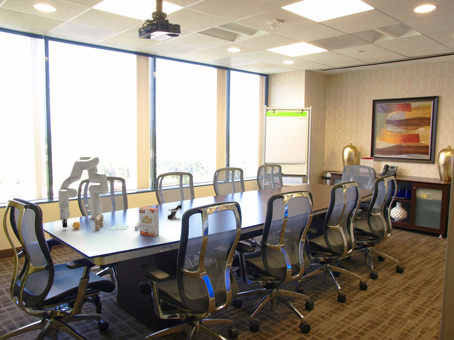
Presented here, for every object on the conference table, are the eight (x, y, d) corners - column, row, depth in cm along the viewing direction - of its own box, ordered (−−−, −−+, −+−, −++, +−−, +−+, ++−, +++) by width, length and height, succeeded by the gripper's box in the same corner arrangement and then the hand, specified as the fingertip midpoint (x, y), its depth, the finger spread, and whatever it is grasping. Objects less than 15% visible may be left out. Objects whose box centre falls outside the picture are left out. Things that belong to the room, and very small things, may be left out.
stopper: (138, 224, 313) (138, 220, 313) (140, 224, 314) (140, 220, 313) (134, 230, 294) (134, 226, 293) (137, 230, 294) (137, 226, 293)
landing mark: (112, 226, 308) (112, 225, 308) (128, 225, 309) (128, 225, 309) (109, 229, 295) (109, 229, 295) (126, 229, 296) (126, 229, 296)
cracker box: (139, 234, 280) (138, 207, 278) (144, 232, 286) (143, 206, 284) (154, 236, 274) (154, 209, 272) (159, 234, 280) (158, 207, 278)
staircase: (167, 219, 334) (167, 206, 333) (174, 217, 343) (173, 204, 342) (175, 220, 330) (175, 207, 329) (181, 218, 339) (181, 205, 338)
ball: (73, 228, 301) (73, 220, 301) (81, 227, 302) (81, 220, 301) (71, 229, 295) (71, 222, 295) (79, 229, 296) (79, 222, 295)
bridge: (95, 230, 293) (94, 218, 292) (99, 226, 308) (99, 214, 307) (99, 230, 293) (98, 218, 292) (103, 226, 308) (103, 214, 307)
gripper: (65, 206, 289) (66, 229, 290) (71, 203, 303) (72, 225, 305) (55, 206, 288) (56, 229, 290) (62, 203, 303) (63, 225, 304)
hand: (64, 227), depth 297 cm, fingers closed
